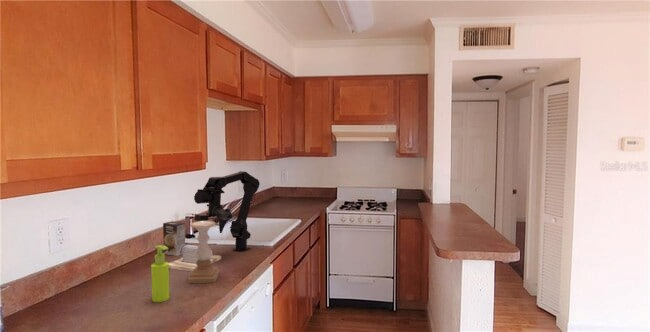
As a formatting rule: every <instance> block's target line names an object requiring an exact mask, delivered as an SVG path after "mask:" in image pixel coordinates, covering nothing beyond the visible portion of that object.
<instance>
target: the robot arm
mask: <svg viewBox="0 0 650 332" xmlns="http://www.w3.org/2000/svg"><path fill="white" fill-rule="evenodd" d="M239 181H240V183H241V184H242V189H243V196H242V200H241V204H240V207H239V210H238V214H237V217H236V219H235V220H232V221H231V219H233V213H232V212H231V209H230V208H223V204H221V203H222V194H225V193H226V192H225V191H224V190H223V188H225V187H226V186H227V185H229V184H232V183H235V182H239ZM260 184H261V182H260V180H259V179H257V178H256V177H254V176H253V175H251V174H250V173H249V172H248V171H241V170H240V171H237V172H234V173H231V174H227V175H224V176H210V177H209V178H208V180H207V182H206V183H205V184H204V187H203V188H201V189H199V188H198V189H197V191H196V192H195V194H194V197H193V198H194V202H195V203H196V204H197V205H200V204H206V206H207V207H208V209H207V212H206V214H204V213H198V214H195V215H194V217H193V218H194V219H193V221H195V222H196V221H209V220H211V219H217V220H218V229H219V233H220V234H223V232H224V228H225V227H226V224H227V223H228V222H229V221H231V225H230V227H229V228H230V230H229V231H230V234H231V236H232V238H235V247H234V248H233V251H241V252H244V251H246V250H248V249H250V246H248V240H249V239H250V238H251V235H252V234H251V233H250V232H249V230H248V222H247V219H248V215H249V211H250V208H251V206H252V205H251V204H252V202H253V197H254V195H255V194H256V192H258V190H259V187H260Z"/></svg>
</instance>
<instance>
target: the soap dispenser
mask: <svg viewBox="0 0 650 332" xmlns="http://www.w3.org/2000/svg"><path fill="white" fill-rule="evenodd" d="M154 248H155V249H156V252H157V253H156V254H155V255H154V263H152V264H151V265H150V267H151V268H150V269H151V270H150V271H151V273H150V274H151V301H152V302H153V303H163V302H166V301H168V300H169V299H170V271H169V269H170V268H169V263H170V262H167V261H166V256H165V255H166V254H164V252H163V251H164V250H166V249H168V247H166V246H164V244H163V245H161V244H159V245H154Z"/></svg>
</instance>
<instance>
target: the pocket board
mask: <svg viewBox="0 0 650 332" xmlns="http://www.w3.org/2000/svg"><path fill="white" fill-rule="evenodd" d="M209 259H210V260H211V264H213V263H216V262H218V261H220V260H222V255H218V254H217V255H215V254H212V257H211V258H209ZM168 263H169V269H171V270H173V269H174V270H179V271H186V272H191V273H192V271H193V270H194V269H195V268H196V267H198V266H197V265H196V264H193V263H185V262H183V257H180V258H179V259H176V260H173V261H170V262H168ZM211 264H210V265H211Z"/></svg>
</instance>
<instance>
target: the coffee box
mask: <svg viewBox="0 0 650 332" xmlns="http://www.w3.org/2000/svg"><path fill="white" fill-rule="evenodd" d="M162 225H163V226H162V227H163V228H162V231H163V233H162V234H163V246H166V247H168V249H166V250H163V254H165V255H168V256H175V257H179V256H182V247H184V246H186V223H185V222H180V221H173V220H172V221H168V222H167V221H166V222H163V223H162Z"/></svg>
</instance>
